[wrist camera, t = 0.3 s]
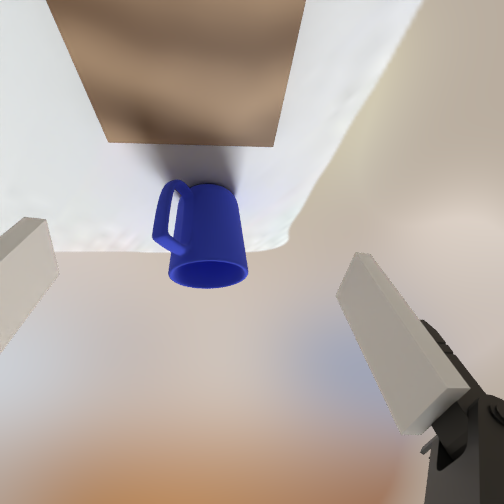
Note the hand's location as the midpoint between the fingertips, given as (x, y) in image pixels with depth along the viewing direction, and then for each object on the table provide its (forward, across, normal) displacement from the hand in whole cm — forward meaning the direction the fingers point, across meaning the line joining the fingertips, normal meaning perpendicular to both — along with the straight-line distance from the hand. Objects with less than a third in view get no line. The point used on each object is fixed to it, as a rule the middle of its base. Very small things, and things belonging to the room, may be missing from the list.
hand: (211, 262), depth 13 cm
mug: (+21, -2, -5) cm, 22 cm away
